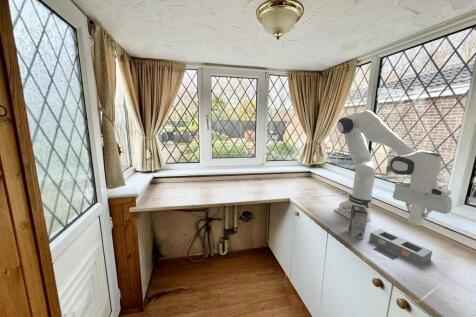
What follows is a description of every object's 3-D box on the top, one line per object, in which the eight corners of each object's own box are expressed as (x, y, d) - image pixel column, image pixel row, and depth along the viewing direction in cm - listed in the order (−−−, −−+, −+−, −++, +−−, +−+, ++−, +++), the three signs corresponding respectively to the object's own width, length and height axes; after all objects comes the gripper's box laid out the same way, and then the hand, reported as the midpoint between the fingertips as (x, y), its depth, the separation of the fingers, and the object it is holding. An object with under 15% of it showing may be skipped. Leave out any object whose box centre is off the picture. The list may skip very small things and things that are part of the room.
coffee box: (347, 230, 118) (351, 204, 116) (360, 232, 116) (364, 206, 114) (350, 237, 110) (354, 210, 107) (363, 240, 108) (368, 212, 105)
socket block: (368, 241, 107) (370, 232, 106) (379, 236, 112) (380, 228, 111) (420, 267, 88) (422, 257, 87) (430, 260, 93) (432, 251, 92)
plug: (407, 222, 94) (411, 200, 92) (412, 220, 96) (415, 199, 94) (418, 225, 90) (422, 203, 89) (422, 224, 92) (426, 202, 91)
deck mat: (372, 250, 99) (372, 249, 99) (378, 247, 102) (378, 246, 102) (393, 261, 92) (393, 259, 91) (398, 258, 94) (398, 257, 94)
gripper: (392, 181, 98) (388, 207, 100) (450, 194, 80) (443, 226, 82) (399, 179, 101) (394, 205, 103) (456, 192, 83) (449, 223, 85)
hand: (416, 214), depth 92 cm, fingers closed on plug, 4 cm apart
